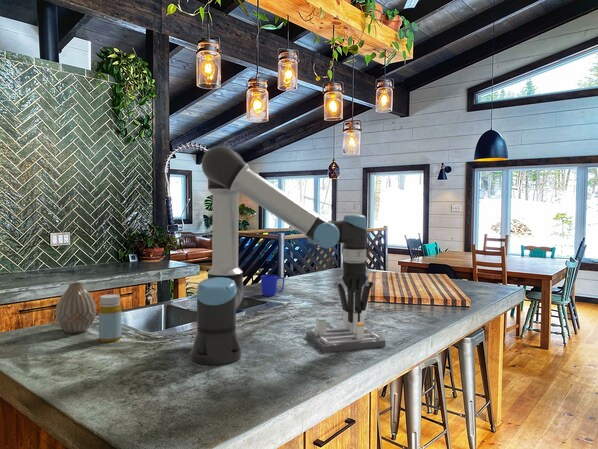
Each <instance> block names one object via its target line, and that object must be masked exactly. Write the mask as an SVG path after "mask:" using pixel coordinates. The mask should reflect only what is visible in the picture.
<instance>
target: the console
mask: <svg viewBox="0 0 598 449" xmlns="http://www.w3.org/2000/svg"><path fill="white" fill-rule="evenodd" d="M305 334H306V335H305V336H306V339H308V340H309V341H310V342H311V343H312V344H313V345H315V346H316V348H318V349H319V350H320V351H321V352H322V353H331V352H344V351H354V350H363V349H373V348H383V347H386V339H383V338H382V337H381V336H380V335H378V334H376V333H374V332H372V331H370V330H369V329H368V328H366V327H365V326H364V339H356V338H354V333H352V332H351V331H350V328H343V327H341V328H331V329H326V334H318V333H317V332H316V330H315V329H311V330H308V331H306V333H305Z"/></svg>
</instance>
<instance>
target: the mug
mask: <svg viewBox="0 0 598 449" xmlns="http://www.w3.org/2000/svg"><path fill="white" fill-rule="evenodd" d="M278 280H282V287H281V289H280V290H277V286H278V285H277V284H278ZM260 283H261V284H260V285H261V294H262V296H265V297H273V296H276V293H282V292H283V290H284V286H285V277H280V276H279V277H278V276H277V275H275V274H263V275H260Z"/></svg>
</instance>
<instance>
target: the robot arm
mask: <svg viewBox="0 0 598 449" xmlns="http://www.w3.org/2000/svg"><path fill="white" fill-rule="evenodd" d="M201 169H202V172H203V174H204V176H205V177H206V179H207V191H208V192H209V194H211V196H212V232H211V233H212V234H211V235H212V240H211V241H212V242H211V244H212V247H211V248H212V249H211V250H212V255H211V256H212V257H211V258H212V260H211V261H212V263H211V265H212V266H211V268H210V269H209V270H208V271H207V278H206V279H203V280H202V281H200V282H199V283H198V285H197V288H196V303H197V304H196V335H195V337H194V340H193V344H192V346H191V347H192V348H191V351H190V359H191V361H192V362H194V363H196V364H199V365H207V366H219V365H226V364H231V363H233V362H236V361H238V360H239V359H241V357H242V347H241V344H240V341H239V336H238V334H237V326H236V324H237V320H236V319H237V309H238V308H239V306H240V305H241V304H242V302H243V300H244V297H245V294H246V293H245V292H246V291H245V285H244V282H243V281H244V280H243V279H244V278H243V274H244V273H243V272H244V271H243V270H242V269H241V268H240V267H239V227H240V226H239V225H240V224H239V223H240V222H239V215H240V214H239V210H240V209H239V207H240V203H239V202H240V194H241V195H243V197H246V198H247V199H249V200H250V201H252V202H254V203H255V204H256V205H258V206H260V207H261V208H263V209H264V210H265V211H267V212H269V213H270V214H272V215H273V216H275V217H276V218H278V219H279V220H281V221H283V222H284V224H285V223H286V225H288V226H290V227H292V228H293V229H295V230H296V231H297V232H299V233H300V234H302V235H304V236H305V237H307V242H308V244H315V245H317V246H318V247H320V248H323V249H331V248H333V247H334V246H336V245H337V244H340V245H341V244H343V255H342V256H343V258H342V259H343V261H344V262H343V264H342V267H343V269H342V270H343V271H342V272H343V275H342V277H341V280H340V281H338V282H335V284H334V285H335V286H336V288H337V290H338V293H339V294H338V295H339V299H340V304H341V308H342V310H344V311H346V312H348V322H350V331H351V332H352V333H357V332H358V322H360V313H362V311H365V310H366V305H367V301H368V302H369V296H370V292H371V289H372V287H373V285H374V282H372V281H370V280H368V277H367V276H366V274H367V263H366V261H367V230H368V228H367V217H366V216H365V215H363V214H362V215H361V214H345V215H344V216H343V220H327V219H326V218H324V217H323V216H321V215H319V214H318V213H317V212H315V211H314V210H312V209H311V208H309V207H308V206H306V205H305V204H303V203H301V202H300V201H298V200H297V199H295V198H294V197H293V196H291V195H290V194H288V193H286V192H285V191H283V190H282V189H280V188H278V187H277V186H276V185H274V184H272V183H271V182H270V181H268V180H266V178H264V177H262V176H260V174H257V172H254V171H253V170H251V169H250V165H249V163H247V162H246V161H244V159H243V157H242V156H241V155H240V153H239V152H237V151H235V150H233V149H232V148H230V147H228V146H225V145H217V146H213V147H211V148H209V149H207V151H206V152H205V153H204V154H203V157H202V160H201ZM345 287H346V291H347V294H346V292H345ZM346 295H348V301H347V299H346ZM354 295H355V302H354ZM361 296H362V298H361ZM354 310H355V312H354Z"/></svg>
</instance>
